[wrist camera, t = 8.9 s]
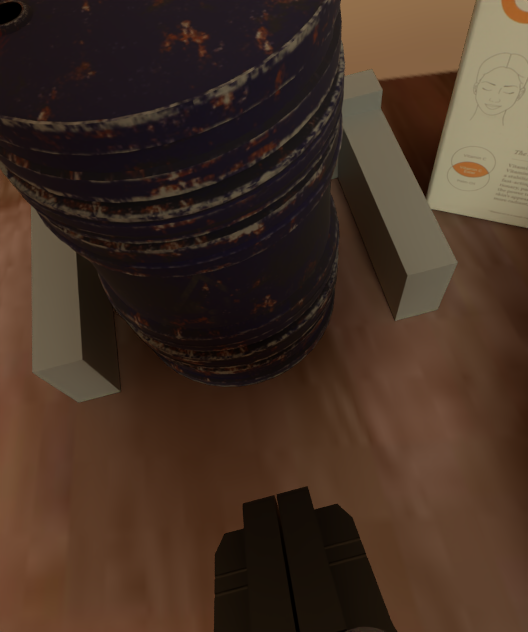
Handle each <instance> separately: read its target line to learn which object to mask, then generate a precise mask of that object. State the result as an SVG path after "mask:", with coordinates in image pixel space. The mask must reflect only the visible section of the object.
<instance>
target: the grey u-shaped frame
mask: <svg viewBox="0 0 528 632" xmlns="http://www.w3.org/2000/svg"><path fill="white" fill-rule="evenodd" d="M382 92H383V89H382V87H381V86H380V84H379V82H378V80H377V78H376V76H375V74H374V72H373V70H372V69H370V70H366V71H362V72H359V73H355V74H351V75H347V76H344V98H343V105H342V118H343V136H342V143H341V149H340V152H339V155H338V159H337V164H336V167H335V170H334V173H333V176H332V179H334V178H338V179H339V181H340V184H341V186H342V189H343V191H344V194H345V197H346V199H347V202H348V204H349V207H350V209H351V212H352V214H353V217H354V219H355V222H356V224H357V227H358V229H359V232H360V234H361V237H362V239H363V242H364V244H365V247H366V249H367V252H368V254H369V257H370V259H371V262H372V264H373V267H374V269H375V272H376V274H377V277H378V279H379V282H380V284H381V287H382V289H383V292H384V294H385V297H386V299H387V302H388V304H389V307H390V309H391V312H392V314H393V317H394V319H395V321H396V320H400V319H404V318H408V317H412V316H415V315H419V314H423V313H427V312H431V311H435V310H437V309H438V307H439V305H440V302H441V300H442V298H443V295H444V293H445V291H446V288H447V286H448V284H449V281H450V279H451V277H452V275H453V272H454V270H455V268H456V265H457V261H456V259H455V257H454V254H453V252H452V250H451V248H450V246H449V244H448V242H447V240H446V238H445V236H444V234H443V232H442V230H441V228H440V226H439V224H438V222H437V220H436V218H435V216H434V214H433V212H432V210H431V208H430V206H429V204H428V202H427V200H426V198H425V196H424V194H423V192H422V190H421V188H420V186H419V184H418V182H417V180H416V178H415V176H414V174H413V172H412V170H411V168H410V166H409V164H408V162H407V160H406V158H405V156H404V154H403V152H402V150H401V148H400V146H399V144H398V142H397V140H396V138H395V136H394V134H393V132H392V130H391V128H390V126H389V124H388V122H387V120H386V118H385V116H384V114H383V112H382V110H381V100H382ZM31 262H32V373H34V374H35V375H37V376H38V377H40V378H41V379H43V380H45V381H46V382H48V383H49V384H51V385H52V386H54V387H55V388H57V389H58V390H60V391H61V392H63V393H65V394H66V395H68V396H69V397H71V398H72V399H74V400H75V401H77V402H78V403H79V402H83V401H87V400H91V399H95V398H98V397H102V396H106V395H110V394H114V393H118V392H121V388H120V378H119V367H118V357H117V347H116V336H115V326H114V316H113V305H112V304H111V302H110V301H109V299H108V297H107V295H106V293H105V290H104V289H103V286H102V284H101V281H100V279H99V276H98V272H97V269H96V268H95V267H94V265H93V264H92V263H91V262H90V261H89V260H88V259H86V258H84V257H83V256H81V255H80V254H78V253H77V252H75V251H74V250H72V249H71V248H70V247H69V246H68V245H67V244H65V243H64V242H62V241H61V240H60V239H59V238H58V237H57V236H56V235H55V234H54V233H53V232H51V231H50V230H49V229H48V228H47V227H46V226H45V224H44V222H43V221H42V219H41V218H40V216H39V215H38V213H37V211H36V210H35V209H34V208H33V207H32V206H31Z"/></svg>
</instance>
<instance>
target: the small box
mask: <svg viewBox="0 0 528 632" xmlns="http://www.w3.org/2000/svg"><path fill="white" fill-rule="evenodd" d="M426 200H427V202H428V204H429V206H430V208H431V209H434V210H440V211H445V212H450V213H455V214H460V215H465V216H470V217H475V218H480V219H485V220H490V221H495V222H500V223H504V224H510V225H515V226H520V227H525V228H528V0H476V2H475V6H474V10H473V14H472V18H471V22H470V26H469V29H468V33H467V38H466V41H465V45H464V50H463V53H462V57H461V61H460V65H459V69H458V73H457V77H456V81H455V85H454V88H453V92H452V96H451V100H450V104H449V108H448V111H447V115H446V119H445V123H444V127H443V131H442V134H441V138H440V142H439V146H438V150H437V154H436V158H435V162H434V166H433V170H432V174H431V178H430V182H429V186H428V190H427V194H426Z"/></svg>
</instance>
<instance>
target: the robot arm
mask: <svg viewBox="0 0 528 632" xmlns="http://www.w3.org/2000/svg"><path fill="white" fill-rule="evenodd" d="M277 501H278V505H277V502H276V498H275V496H274V495H273V496H269V497H266V498H262V499H258V500H254V501H251V502H247V503H243V520H244V529H241V530H237V531H233V532H229V533H226V534H224V536H223V538H222V540H221V542H220V545H219V547H218V549H217V551H216V553H215V600H214V632H397V630H396V629H395V627H394V626H393V624H392V621H391V619H390V616H389V614H388V611H387V608H386V606H385V603H384V601H383V598H382V595H381V593H380V590H379V587H378V585H377V582H376V579H375V577H374V574H373V571H372V569H371V566H370V563H369V561H368V558H367V556H366V553H365V550H364V547H363V545H362V542H361V540H360V537H359V534H358V531H357V529H356V526H355V523H354V521H353V518H352V517H351V516H350V515H349V514H348V513H347V512H346V511H345V510H343V509H342V508H341V507H340V506H339V505H338V504H334V505H330V506H326V507H323V508H319V509H315V510H314V508H313V504H312V501H311V497H310V493H309V490H308V486H306V487H303V488H299V489H295V490H291V491H288V492H284V493H280V494H277ZM278 507H279V508H278Z"/></svg>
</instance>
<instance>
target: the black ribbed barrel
mask: <svg viewBox="0 0 528 632" xmlns="http://www.w3.org/2000/svg"><path fill="white" fill-rule="evenodd" d="M340 1H341V0H0V169H1V170H2V172H3V173H4V175H5V176H6V177H7V178H8V179H9V180H10V182H11V183H12V184H13V185H14V187H15V188H16V189H17V190H18V191H19V192H20V193H21V195H22V196H23V197H24V199H25V200H26V201H27V202H28V203H29V204H30V205H31V206H32V207H33V208H34V209H35V210H36V211H37V213H38V215H39V216H40V218H41V219H42V221H43V222H44V224H45V226H46V227H47V228H48V229H49V230H50V231H51V232H53V233H54V234H55V235H56V236H57V237H58V238H59V239H60V240H61V241H62V242H64V243H65V244H67V245H68V246H69V247H70V248H71V249H72V250H74V251H75V252H77V253H78V254H80V255H81V256H83V257H84V258H86V259H88V260H89V261H90V262H91V263H92V264H93V265H94V267H95V268H96V269H97V272H98V276H99V279H100V281H101V284H102V286H103V289H104V290H105V293H106V295H107V297H108V299H109V301H110V302H111V304H112V305H113V307H114V308H115V310H116V311H117V312H118V313H119V314H120V315H121V316H122V317H123V318H124V319H125V320H126V322H127V323H128V324H129V325H130V327H131V328H132V329H133V330H134V331H135V333H136V334H137V335H138V336H139V337H140V338H141V339H142V340H143V341H144V342H145V343H146V344H147V345H148V346H150V347H151V348H152V349H153V350H154V352H155V353H156V354H157V355H158V356H159V357H160V358H161V359H162V360H163V361H164V362H165V363H166V364H167V365H168V366H169V367H170V368H172V369H173V370H175V371H176V372H177V373H179V374H181V375H183V376H185V377H187V378H189V379H191V380H193V381H197V382H200V383H204V384H207V385H213V386H222V387H236V386H245V385H251V384H256V383H260V382H263V381H266V380H268V379H271V378H274V377H276V376H278V375H280V374H282V373H284V372H286V371H287V370H289V369H290V368H292V367H293V366H295V365H296V364H297V363H299V362H300V361H301V360H302V359H303V358H304V357H305V356H306V355H307V354H308V353H309V352H310V351H311V350H312V349H313V348H314V347H315V345H316V344H317V343H318V341H319V340H320V339H321V337H322V335H323V333H324V331H325V329H326V327H327V325H328V323H329V320H330V317H331V314H332V310H333V304H334V294H335V288H334V287H335V283H336V279H337V270H338V244H339V221H338V217H337V212H336V208H335V205H334V201H333V197H332V195H331V193H330V184H331V179H332V176H333V173H334V170H335V167H336V164H337V159H338V155H339V152H340V149H341V143H342V136H343V118H342V105H343V98H344V69H345V62H344V52H343V44H342V41H341V22H342V21H341V11H340Z"/></svg>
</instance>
